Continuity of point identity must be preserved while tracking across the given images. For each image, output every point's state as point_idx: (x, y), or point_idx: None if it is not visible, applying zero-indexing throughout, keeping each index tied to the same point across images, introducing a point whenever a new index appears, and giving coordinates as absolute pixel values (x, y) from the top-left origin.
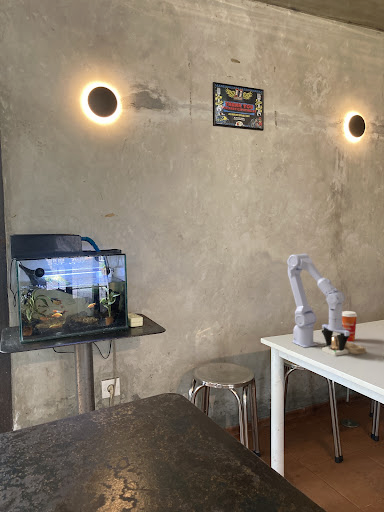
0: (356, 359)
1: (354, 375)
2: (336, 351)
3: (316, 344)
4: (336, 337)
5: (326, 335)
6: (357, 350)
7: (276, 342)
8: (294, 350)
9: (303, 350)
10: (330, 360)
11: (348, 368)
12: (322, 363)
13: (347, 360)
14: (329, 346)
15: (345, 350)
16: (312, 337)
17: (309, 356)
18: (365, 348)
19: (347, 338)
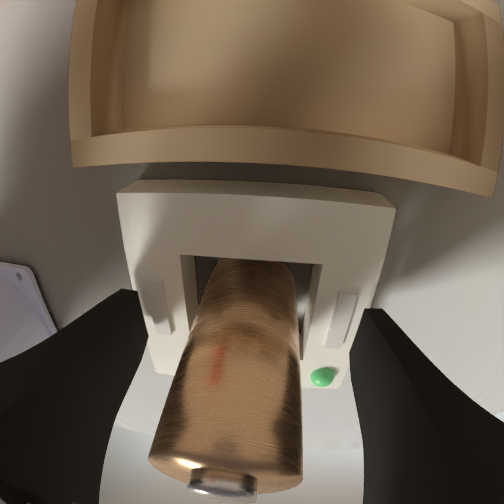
0: (495, 277)
1: (496, 410)
2: (325, 360)
3: (30, 282)
4: (260, 480)
5: (99, 461)
6: (494, 157)
7: None
8: (119, 420)
9: (126, 403)
10: None
11: (473, 400)
12: (353, 448)
13: (449, 347)
14: (152, 311)
15: (377, 255)
16: (1, 352)
17: None
18: (498, 12)
19: (500, 443)
